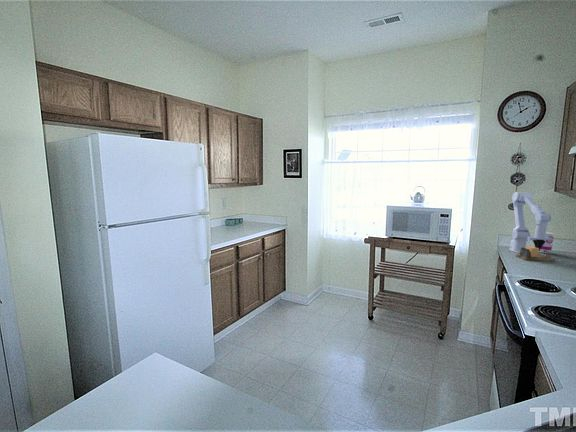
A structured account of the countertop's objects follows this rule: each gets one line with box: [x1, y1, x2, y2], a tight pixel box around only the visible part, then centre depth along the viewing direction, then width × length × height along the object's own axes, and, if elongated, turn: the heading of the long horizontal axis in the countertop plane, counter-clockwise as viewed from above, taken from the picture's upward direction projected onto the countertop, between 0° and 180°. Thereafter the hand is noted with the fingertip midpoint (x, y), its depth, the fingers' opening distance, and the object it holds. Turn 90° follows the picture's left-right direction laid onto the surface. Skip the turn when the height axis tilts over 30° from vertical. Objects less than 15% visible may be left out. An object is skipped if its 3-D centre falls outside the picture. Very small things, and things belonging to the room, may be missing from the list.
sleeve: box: [525, 245, 539, 257], centre depth 211 cm, size 6×4×6 cm
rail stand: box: [515, 247, 556, 262], centre depth 211 cm, size 10×19×7 cm, turn 88°
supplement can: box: [539, 231, 555, 253], centre depth 226 cm, size 8×8×15 cm
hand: (537, 250), depth 211 cm, fingers closed
